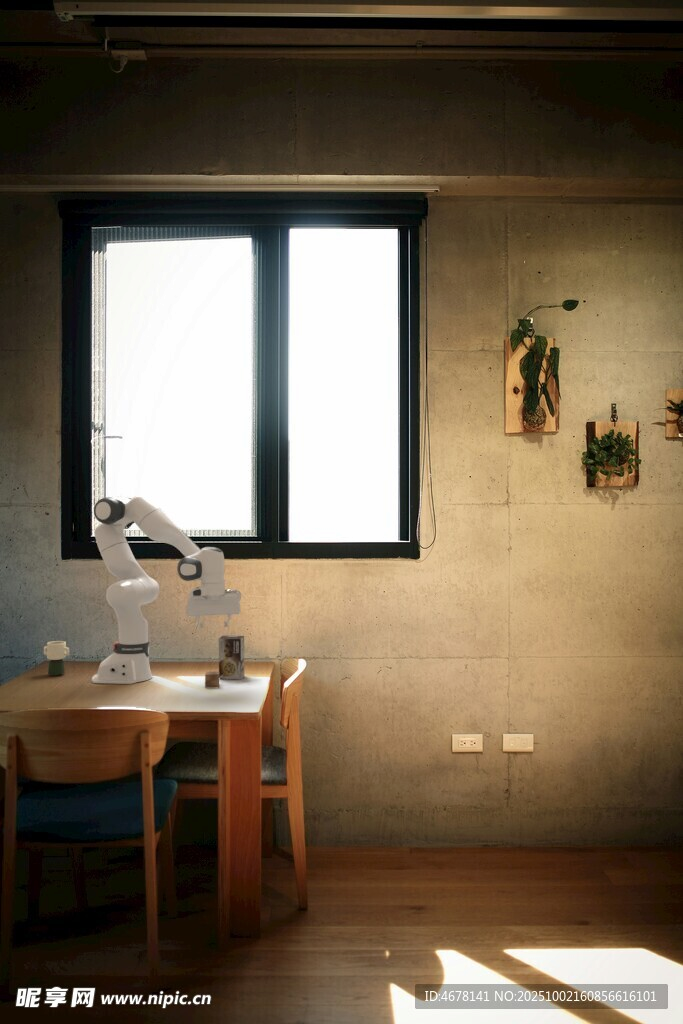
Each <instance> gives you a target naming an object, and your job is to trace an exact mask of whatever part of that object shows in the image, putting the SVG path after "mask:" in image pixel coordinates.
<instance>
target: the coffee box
mask: <svg viewBox="0 0 683 1024" xmlns="http://www.w3.org/2000/svg"><path fill="white" fill-rule="evenodd" d="M218 671H219V678H226V679H225V680H242V679H243V678H244V677H245V635H221V636H220V637H219V638H218Z"/></svg>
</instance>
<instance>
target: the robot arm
mask: <svg viewBox="0 0 683 1024" xmlns="http://www.w3.org/2000/svg"><path fill="white" fill-rule="evenodd" d="M93 514H94V518H95V519H96V520H97V521H98V522H100V524H98V525H97V526H96V528H95V529H94V536H95V537H94V538H95V541H96V544H97V548H98V550H99V552H100V556H101V557H102V560H103V562H104V564H105V567H106V569H107V571H108V572H109V573H110V574H111V575H113V576H114V577H116V578H117V580H118V581H116V582H114V583H113V584H111V585H110V586H108V588H107V590H106V592H105V598H106V601H107V603H108V605H109V606H110V607H111V608H113V610H114V613H115V615H116V618H117V624H118V626H117V627H118V641H115V642H113V647H112V649H113V652H112V653H111V654H110V655H109V656H107V657H106V658H105V659H104V660H102V661H101V662H100V664H99V666H98V671H97V673H96V674H94V675H93V676H92V677H91V683H93V684H118V685H119V684H120V685H121V684H122V685H126V684H127V685H132V684H136V683H139V682H144V681H148V680H150V679H152V678H153V675H152V671H151V666H150V658H149V656H150V641H149V622H148V620H147V619H146V618H145V617H144V616H143V612H142V610H141V609H142V608H141V607H142V606H146V605H148V604H150V603H152V602H153V601H155V600H156V599H157V598H159V595H160V586H159V583H158V582H157V580H155V579H154V578H152V577H151V576H149V575H148V574H147V573H146V572H145V570H144V569H143V567H141V565H140V564H139V562H138V561H137V559H136V558H135V555H134V554H133V552H132V549H131V547H130V545H129V542H128V540H127V538H126V535H125V532H124V531H125V530H127V529H130V528H131V527H132V525H133V524H135V525H136V526H137V527H138V528H139V529H140V531H141V532H142V533H143V534H144V535H145V536H146V537H148V538H149V539H150V540H152V541H155V542H161V543H164V544H168V545H171V546H173V547H175V548H176V549H177V550H178V551H180V553H181V554H182V556H184V557H182V558H181V559H179V561H178V563H177V567H176V569H177V574H178V576H179V578H180V579H181V580H182V581H186V582H194V581H200V582H201V584H200V585H199V586H196V587H193V588H191V589H190V590H189V596H188V599H187V601H186V609H185V610H186V611H185V614H186V615H187V616H189V617H192V616H193V617H195V619H196V621H197V623H198V628H199V629H200V628H204V622H202V621H201V620H200V618H201V617H200V616H222V615H223V616H224V615H225V616H227V620H226V621H224V623H223V624H224V627H225V628H226V627H228V628H229V622H230V621H231V619H232V615H239V614H240V613H241V603H240V601H241V600H242V593H241V591H240V590H237V589H226V580H225V571H226V570H225V569H226V568H225V567H226V565H225V563H226V562H225V556H224V552H223V550H222V549H220V548H219V547H215V546H205V547H202V548H200V547H199V546H198V545H197V544H196V542H194V540H192V538H190V537H189V536H188V534H187V533H186V532H184V531H183V530H182V529H181V528H180V527H178V526H177V525H176V524H175V523H174V522H173V520H172V519H171V518H170V517H169V516H168V515H167V514H166V513H165V512H164V511H163V510H162V508H161V507H160V506H159V505H158V504H157V503H156V502H154V500H152V499H151V498H150V497H148V496H147V495H145V494H137V495H135V496H133V497H132V498H130V497H124V496H114V497H113V496H107V497H102V498H101V499H99V500H98V501H96V502H95V504H94V507H93Z"/></svg>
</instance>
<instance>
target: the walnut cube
mask: <svg viewBox="0 0 683 1024" xmlns="http://www.w3.org/2000/svg"><path fill="white" fill-rule="evenodd" d="M204 675H205V676H204V688H205V687H220V679H219V670H218V671H217V670H215V671H205V673H204Z"/></svg>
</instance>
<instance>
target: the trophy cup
mask: <svg viewBox="0 0 683 1024" xmlns="http://www.w3.org/2000/svg"><path fill="white" fill-rule="evenodd" d="M66 642H67V641H63V640H54V641H48V642H46V645H45V646H44V647H43V655H45V656H46V657H47V658H46V659H47V660H50V661H49V662H48V670H47V674H48V675H50V676H61V675H62V674H66V670H65V669H66V668H65V663H64V662H65V661H64V660H63V659H65V658H66V657H67V656H70V647H67V643H66Z"/></svg>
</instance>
